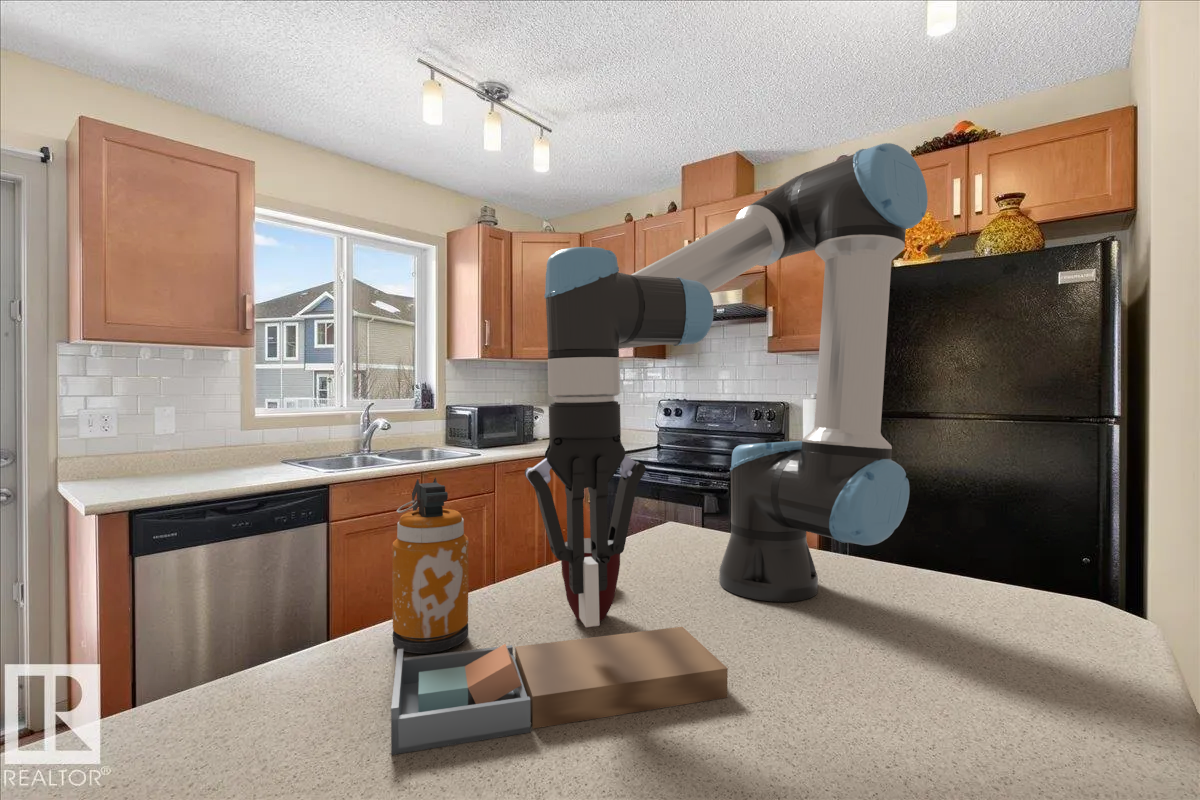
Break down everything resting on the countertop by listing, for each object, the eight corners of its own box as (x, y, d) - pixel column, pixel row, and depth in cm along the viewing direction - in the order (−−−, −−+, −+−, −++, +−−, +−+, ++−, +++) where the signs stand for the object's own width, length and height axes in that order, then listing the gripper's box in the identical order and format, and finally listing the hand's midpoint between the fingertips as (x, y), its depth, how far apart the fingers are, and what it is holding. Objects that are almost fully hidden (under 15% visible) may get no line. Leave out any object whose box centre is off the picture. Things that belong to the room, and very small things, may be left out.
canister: (399, 665, 67) (398, 489, 67) (385, 629, 77) (385, 476, 77) (476, 649, 71) (476, 483, 71) (454, 617, 81) (454, 472, 81)
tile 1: (418, 672, 59) (418, 696, 59) (418, 694, 55) (418, 721, 55) (464, 666, 60) (464, 690, 60) (468, 687, 56) (468, 713, 56)
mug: (624, 636, 75) (625, 558, 75) (560, 638, 74) (561, 559, 74) (617, 606, 86) (617, 537, 85) (561, 607, 85) (561, 538, 85)
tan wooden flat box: (682, 651, 71) (682, 626, 71) (727, 697, 60) (727, 668, 60) (515, 673, 65) (515, 646, 65) (532, 728, 55) (532, 696, 54)
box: (511, 671, 65) (511, 636, 65) (530, 732, 54) (530, 688, 54) (397, 687, 62) (397, 649, 62) (391, 754, 51) (391, 708, 50)
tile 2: (515, 664, 62) (505, 643, 61) (521, 685, 57) (511, 663, 57) (474, 687, 61) (464, 666, 60) (478, 709, 56) (467, 687, 56)
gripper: (630, 397, 68) (634, 601, 68) (516, 400, 64) (522, 616, 65) (655, 398, 60) (659, 626, 61) (529, 402, 57) (535, 645, 57)
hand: (589, 621), depth 63 cm, fingers closed
